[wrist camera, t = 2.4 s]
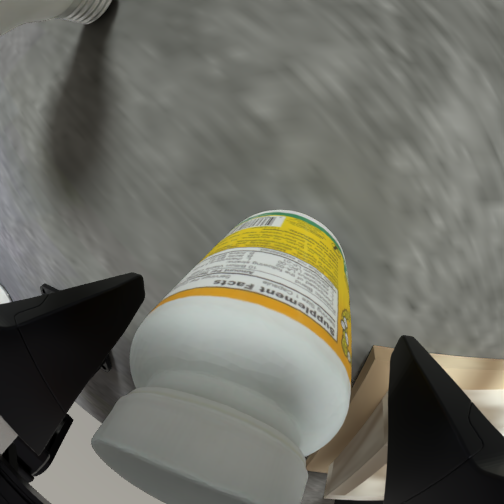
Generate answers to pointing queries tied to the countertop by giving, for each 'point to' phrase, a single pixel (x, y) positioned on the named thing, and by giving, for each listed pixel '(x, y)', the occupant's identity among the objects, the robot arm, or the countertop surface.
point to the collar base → (376, 422)
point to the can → (4, 296)
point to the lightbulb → (49, 11)
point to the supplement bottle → (239, 370)
